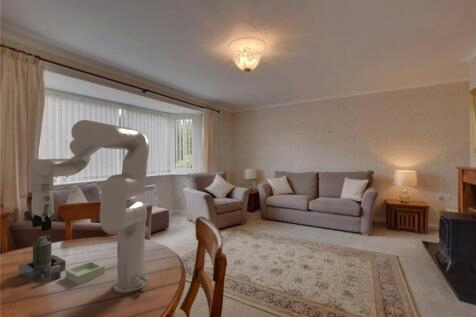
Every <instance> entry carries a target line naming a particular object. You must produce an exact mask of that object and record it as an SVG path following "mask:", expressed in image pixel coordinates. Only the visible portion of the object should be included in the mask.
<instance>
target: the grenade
mask: <svg viewBox="0 0 476 317" xmlns="http://www.w3.org/2000/svg"><path fill="white" fill-rule="evenodd" d="M50 237H51V235H42V236H39V237H37V238H36V239H35V240H34V241H32V242H31V245H32V261H33V265H34V269H36V268H39V267H40V268H42V276H43V269H45V268H48V267H52V263H51V255H52V241H50V240H48V239H49V238H50ZM34 242H35V243H34Z"/></svg>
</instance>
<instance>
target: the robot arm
mask: <svg viewBox="0 0 476 317" xmlns="http://www.w3.org/2000/svg"><path fill="white" fill-rule="evenodd" d="M70 132H71V136H72V138H73V140H71V141H70V143H69V149H70V151H71V153H72V154H73V156H72V157H71V158H47V159H46V158H37V159H34V158H33V159H31V161H30V164H29V165H30V166H29V175H30V176H29V178H30V179H29V192H30V193H32V195H31V213H32V216H31V217H32V220H31V221H32V224H31V226H32V228H37V227H41V229H40V230H41V232H45V231H50V230H52V220H53V218H52V217H53V214H55V205H54V204H55V200H54V193H53V192H54V178H55V177H57V178H58V177H68V176H69V177H70V176H75V175H77V174H79V172H82V171H83V170H84V169H85V168H87V166H88V165H89V163H90V160H91V156H92V155H94V154H95V153H96V152H97V151H99V150H100V149H101V148H102V149H109V150H110V149H112V150H127V152H126V154H125V155H124V158H123V160H122V170H121V173H118V174H113V175H111V176H109V177H108V178H107V179H106V180H105V181H104V183H103V184H102V188H101V192H100V193H101V194H100V208H99V224H100V226H101V227H100V228H101V229H102V231H103V232H105V233H107V234H108V235H109V234H111V235H112V234H113V235H116V234H118V235H117V241H116V242H117V244H116V246H117V248H116V250H117V251H116V252H117V254H116V255H117V256H116V259H117V264H116V265H117V274H116V276H117V278H116V280H114V282H113V283H112V289H113V291H114V292H116V293H121V294H124V293H125V294H126V293H132V292H135V291H138V290H141V289H143V288H145V287H146V286H147V285H148V284H149V282H150V277H149V275H148V274H147V271H145V270H146V262H145V261H146V252H145V251H146V250H145V246H146V245H145V243H146V241H145V240H146V225H147V224H146V223H147V218H148V209H147V207H146V205H145V203H144V202H142V201H140V200H132V199H135V198H138V197H140V196H142V195H143V194H145V190H146V184H147V172H148V170H147V169H148V159H149V152H150V142H149V140H148V138H147V137H146V135H145V134H144V133H143V132H141V131H140V130H137V129H134V128H130V127H126V126H119V125H115V124H110V123H109V124H108V123H104V122H100V121H94V120H89V119H82V120H79V121H77V122H75V123H74V124H73V126H72V128H71V131H70ZM128 200H129V201H128Z"/></svg>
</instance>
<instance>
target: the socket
mask: <svg viewBox="0 0 476 317" xmlns="http://www.w3.org/2000/svg"><path fill="white" fill-rule="evenodd" d="M51 263H52V267H53V266H56V265H60V266H61V272H64V271H66V260H65V259H63V258H62V257H58V255H55V254H51ZM18 275H20V276H19V277H20V278H22V279H23V280H25V281H26V282H28V283H29V284H30V283H33V282H36V281H38V280H42V278H43V275H42V268H40V267H39V268H36V269H34V265H33V260H32V261H28V262H24V263H21V264H18Z"/></svg>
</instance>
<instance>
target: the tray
mask: <svg viewBox="0 0 476 317" xmlns="http://www.w3.org/2000/svg"><path fill="white" fill-rule="evenodd" d="M105 272H106V271H105V265H104V264H101V263H99V262H96V261H94V260H90V261H87V262H84V263H82V264H79V265H75V266H73V267H70V268H68V269H65V279H67V280H69V281H70V282H72V283H73V284H76V285H77V286H79V285H81V284H84V283H86V282H88V281H91V280H93V279H95V278H97V277H100V276H103V275H105V274H106V273H105Z"/></svg>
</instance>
